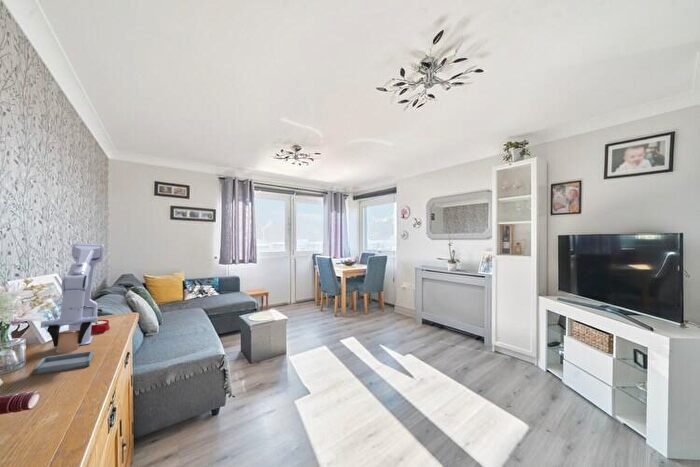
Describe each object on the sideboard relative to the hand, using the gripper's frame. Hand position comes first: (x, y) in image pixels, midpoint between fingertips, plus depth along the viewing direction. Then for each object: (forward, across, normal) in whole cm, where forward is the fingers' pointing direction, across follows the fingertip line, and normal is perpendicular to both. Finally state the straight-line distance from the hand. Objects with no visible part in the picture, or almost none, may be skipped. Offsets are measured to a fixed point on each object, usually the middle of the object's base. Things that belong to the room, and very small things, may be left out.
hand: (68, 344), depth 98 cm
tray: (+7, 0, 0) cm, 7 cm away
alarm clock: (+8, +4, +40) cm, 41 cm away
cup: (+2, 0, 0) cm, 2 cm away
